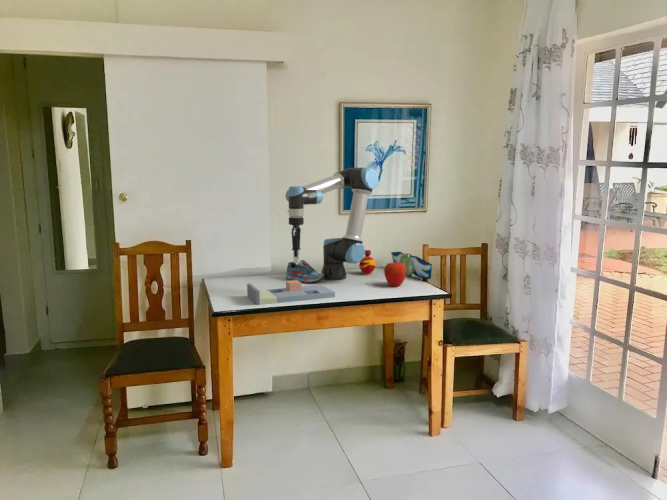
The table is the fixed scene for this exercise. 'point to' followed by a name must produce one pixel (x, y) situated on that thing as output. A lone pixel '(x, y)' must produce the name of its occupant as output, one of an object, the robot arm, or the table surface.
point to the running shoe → (303, 272)
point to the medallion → (413, 265)
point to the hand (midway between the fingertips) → (296, 262)
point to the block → (293, 285)
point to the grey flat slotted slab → (287, 294)
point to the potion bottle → (367, 263)
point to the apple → (395, 273)
